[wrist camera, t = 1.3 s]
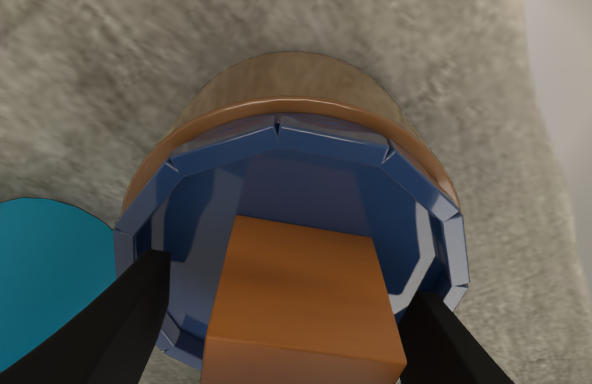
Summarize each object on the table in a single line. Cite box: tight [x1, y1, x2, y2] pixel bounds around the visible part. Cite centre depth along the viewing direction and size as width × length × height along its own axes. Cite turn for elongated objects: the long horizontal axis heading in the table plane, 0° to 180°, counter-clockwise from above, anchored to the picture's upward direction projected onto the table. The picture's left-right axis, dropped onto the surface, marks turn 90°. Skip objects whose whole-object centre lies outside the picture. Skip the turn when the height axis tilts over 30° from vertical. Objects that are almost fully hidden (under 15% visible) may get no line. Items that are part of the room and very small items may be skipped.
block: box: [200, 215, 407, 384], centre depth 10 cm, size 4×4×4 cm
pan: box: [113, 52, 470, 371], centre depth 14 cm, size 11×11×7 cm
